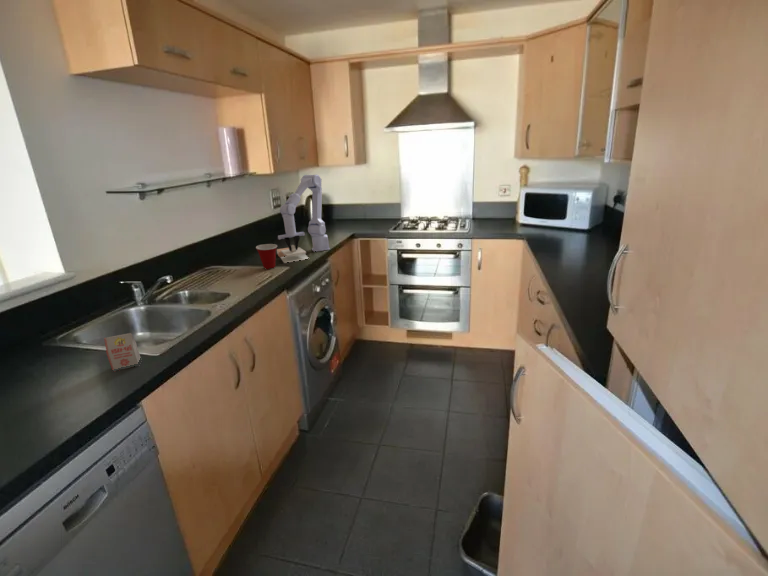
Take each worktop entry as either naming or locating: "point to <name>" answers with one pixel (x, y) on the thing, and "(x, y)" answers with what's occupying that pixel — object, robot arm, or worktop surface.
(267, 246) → the plastic cup
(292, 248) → the lid
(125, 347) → the beige cardboard box
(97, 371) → the worktop surface
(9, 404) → the worktop surface
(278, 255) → the block
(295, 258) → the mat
